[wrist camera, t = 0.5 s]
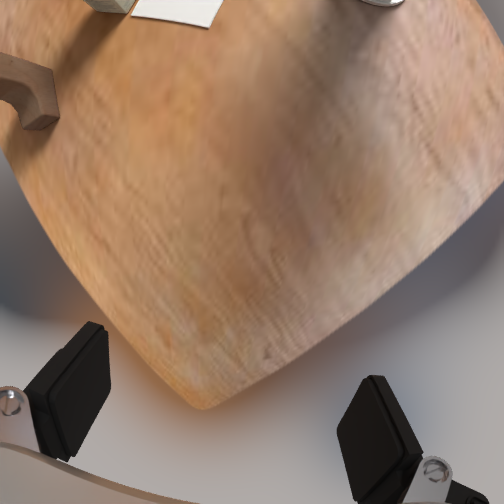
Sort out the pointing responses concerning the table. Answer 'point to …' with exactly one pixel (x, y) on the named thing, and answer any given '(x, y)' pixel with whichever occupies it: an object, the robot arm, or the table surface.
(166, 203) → the table surface
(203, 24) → the note sheet
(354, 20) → the table surface
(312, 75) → the table surface
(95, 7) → the skincare box
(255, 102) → the table surface
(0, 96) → the wooden block
